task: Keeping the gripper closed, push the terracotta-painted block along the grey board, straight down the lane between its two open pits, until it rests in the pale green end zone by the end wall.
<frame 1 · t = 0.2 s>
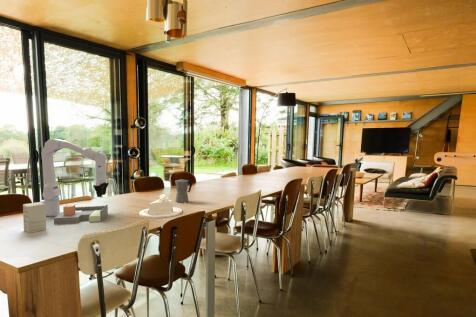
hand: (101, 195, 171), 10 cm above the table, tool pointing down, fingers open, 7 cm apart
supplement box: (35, 230, 137), on the table
dish: (160, 213, 172), on the table
coffeepot: (183, 202, 203), on the table
board: (81, 218, 157), on the table
block: (69, 214, 156), point 3 cm above the table, touching board
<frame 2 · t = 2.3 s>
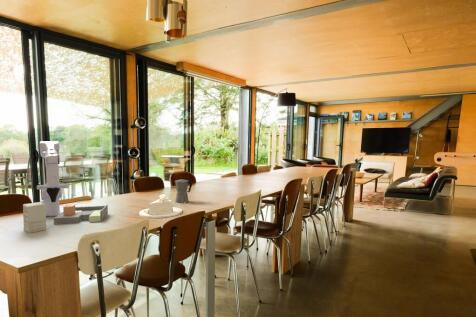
hand: (53, 202, 153), 10 cm above the table, tool pointing down, fingers closed
nothing on the table moved.
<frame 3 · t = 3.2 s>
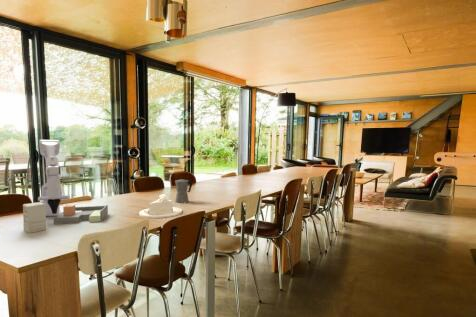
hand: (54, 213, 154), 4 cm above the table, tool pointing down, fingers closed
nothing on the table moved.
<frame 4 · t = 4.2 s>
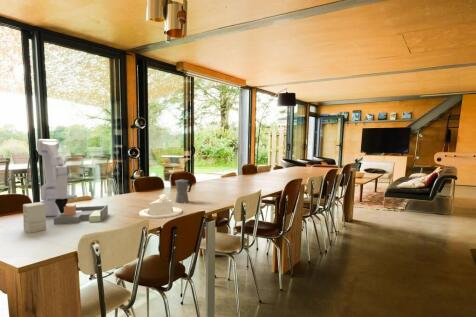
hand: (62, 212, 155), 4 cm above the table, tool pointing down, fingers closed
block: (70, 213, 156), point 3 cm above the table, touching gripper
everything else where it was.
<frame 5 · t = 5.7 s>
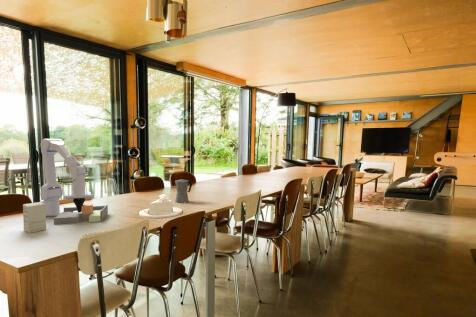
hand: (79, 211, 157), 4 cm above the table, tool pointing down, fingers closed
block: (87, 213, 158), point 3 cm above the table, touching board, gripper
everything else where it was.
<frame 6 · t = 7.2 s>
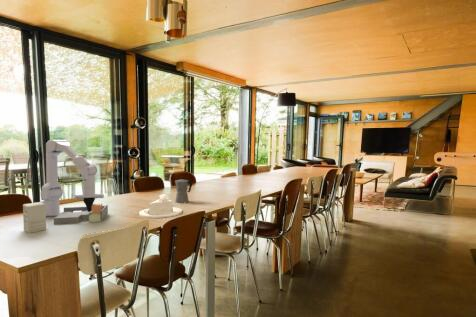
hand: (89, 211, 158), 4 cm above the table, tool pointing down, fingers closed
block: (97, 212, 159), point 3 cm above the table, touching gripper
everything else where it was.
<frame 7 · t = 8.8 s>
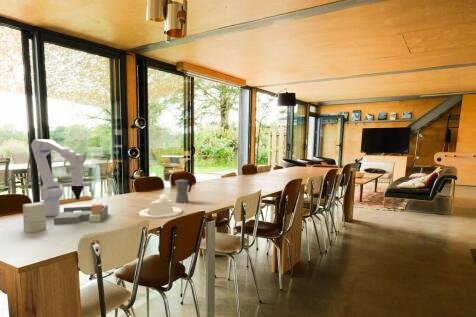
hand: (77, 199, 160), 10 cm above the table, tool pointing down, fingers closed
block: (97, 212, 159), point 3 cm above the table, touching board
everything else where it was.
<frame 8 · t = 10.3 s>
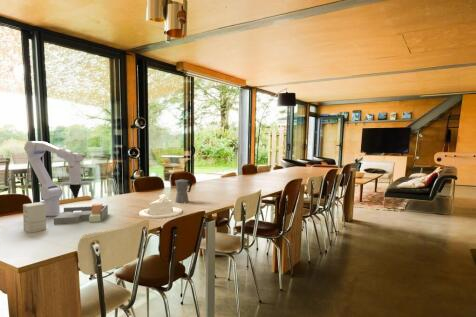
hand: (75, 197, 163), 10 cm above the table, tool pointing down, fingers closed
nothing on the table moved.
at the end: block 0.3 cm from the target spot, point 3.0 cm above the table; block tilted 0° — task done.
